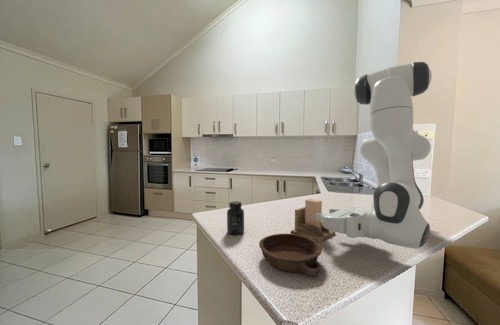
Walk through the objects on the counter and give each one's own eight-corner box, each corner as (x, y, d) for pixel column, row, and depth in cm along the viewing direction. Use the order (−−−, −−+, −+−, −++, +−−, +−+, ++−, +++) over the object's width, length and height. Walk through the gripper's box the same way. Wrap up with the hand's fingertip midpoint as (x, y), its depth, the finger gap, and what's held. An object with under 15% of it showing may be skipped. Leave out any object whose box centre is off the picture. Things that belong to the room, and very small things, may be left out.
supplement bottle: (247, 230, 85) (247, 201, 85) (239, 236, 79) (239, 205, 79) (232, 228, 88) (232, 199, 88) (223, 233, 82) (223, 203, 81)
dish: (285, 241, 75) (285, 227, 75) (341, 268, 57) (341, 250, 57) (244, 253, 66) (244, 237, 66) (295, 291, 48) (295, 270, 47)
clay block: (310, 228, 85) (310, 198, 85) (321, 231, 81) (321, 200, 81) (305, 230, 83) (305, 200, 82) (316, 233, 79) (316, 202, 79)
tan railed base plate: (308, 226, 90) (308, 205, 90) (335, 234, 81) (335, 211, 81) (291, 232, 83) (291, 210, 82) (318, 242, 74) (318, 217, 73)
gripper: (375, 207, 74) (337, 200, 85) (349, 218, 61) (308, 209, 72) (375, 224, 75) (337, 216, 85) (349, 239, 61) (308, 227, 72)
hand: (324, 213), depth 78 cm, fingers open, 8 cm apart
